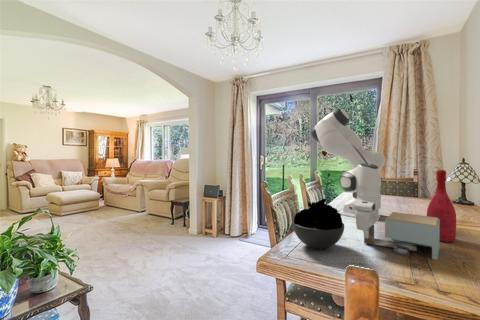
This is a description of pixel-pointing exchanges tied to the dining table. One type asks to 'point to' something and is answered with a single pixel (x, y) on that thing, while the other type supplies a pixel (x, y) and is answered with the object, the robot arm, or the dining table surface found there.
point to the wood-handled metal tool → (386, 241)
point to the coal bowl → (318, 225)
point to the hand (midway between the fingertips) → (368, 235)
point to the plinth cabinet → (414, 230)
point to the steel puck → (401, 250)
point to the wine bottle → (443, 210)
